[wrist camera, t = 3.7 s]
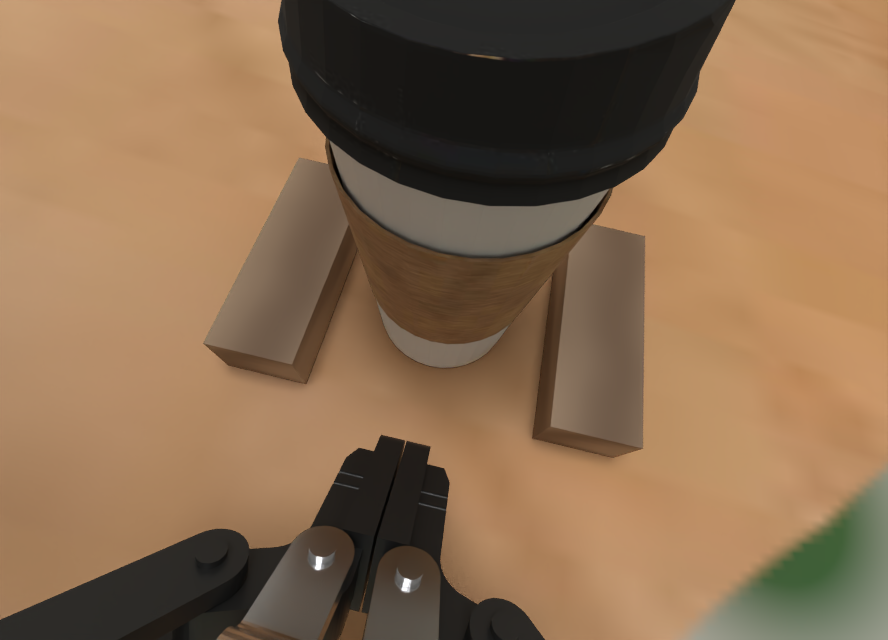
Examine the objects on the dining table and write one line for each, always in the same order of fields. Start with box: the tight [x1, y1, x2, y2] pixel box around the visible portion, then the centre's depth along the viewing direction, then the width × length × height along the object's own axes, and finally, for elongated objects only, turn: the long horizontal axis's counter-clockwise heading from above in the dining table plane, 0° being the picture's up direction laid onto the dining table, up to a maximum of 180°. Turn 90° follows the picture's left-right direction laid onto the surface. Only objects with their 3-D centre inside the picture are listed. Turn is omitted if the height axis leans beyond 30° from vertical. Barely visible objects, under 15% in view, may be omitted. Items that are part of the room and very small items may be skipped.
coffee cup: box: [278, 0, 735, 368], centre depth 14 cm, size 8×8×15 cm
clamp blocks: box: [203, 158, 645, 457], centre depth 19 cm, size 17×10×2 cm, turn 78°
